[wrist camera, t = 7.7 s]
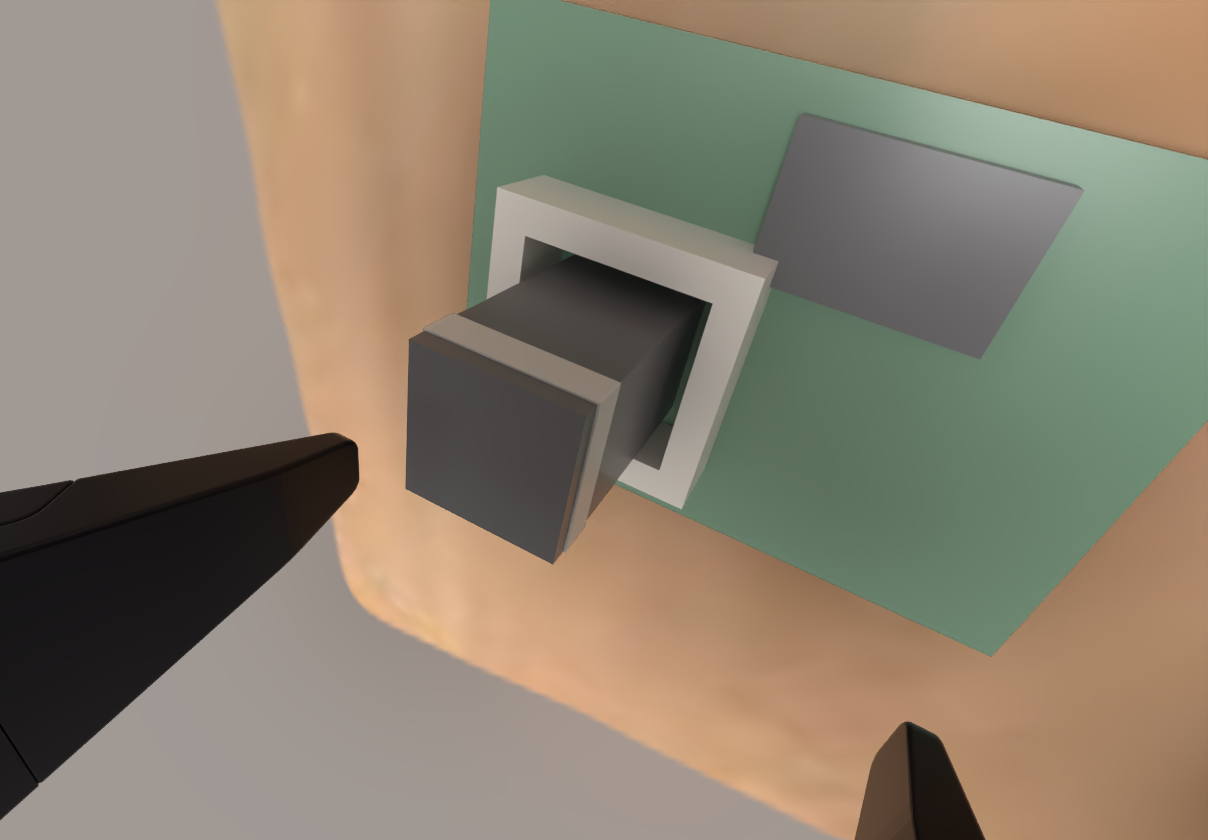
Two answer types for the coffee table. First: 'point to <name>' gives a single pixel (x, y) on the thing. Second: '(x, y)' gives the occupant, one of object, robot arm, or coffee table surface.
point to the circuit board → (862, 301)
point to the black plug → (543, 398)
